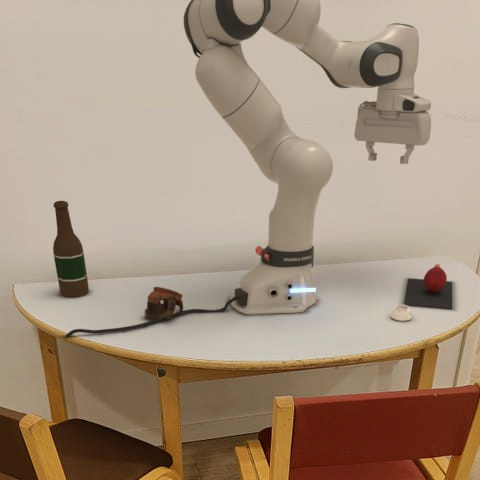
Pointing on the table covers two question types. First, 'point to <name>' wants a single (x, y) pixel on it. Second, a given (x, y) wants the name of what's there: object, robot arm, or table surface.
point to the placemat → (427, 295)
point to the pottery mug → (168, 306)
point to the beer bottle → (68, 255)
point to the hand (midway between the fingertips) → (387, 162)
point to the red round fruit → (435, 279)
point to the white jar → (401, 313)
